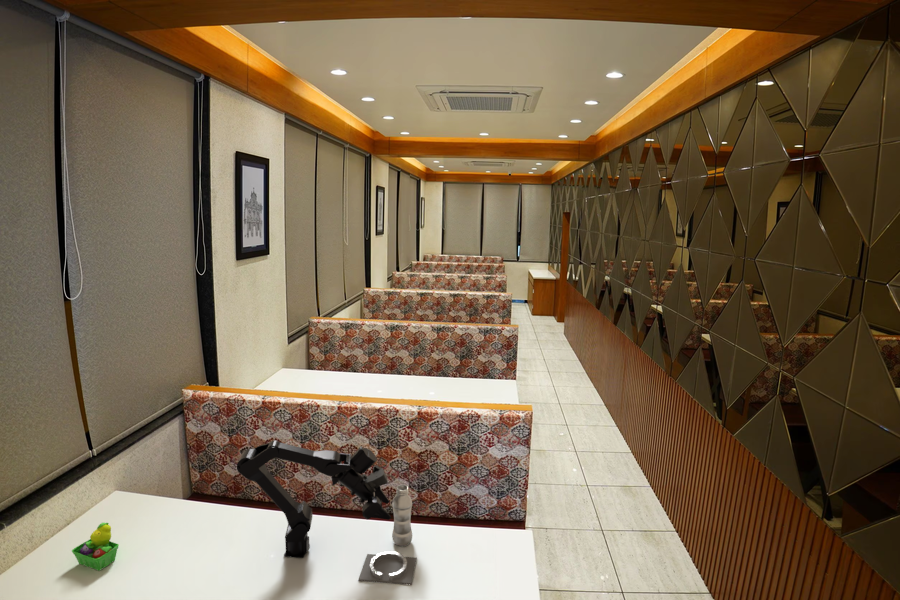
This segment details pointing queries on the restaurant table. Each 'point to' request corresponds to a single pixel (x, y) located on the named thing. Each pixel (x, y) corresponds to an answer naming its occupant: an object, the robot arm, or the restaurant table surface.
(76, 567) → the restaurant table surface
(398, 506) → the plastic bottle
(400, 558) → the split ring
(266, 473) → the robot arm
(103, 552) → the fruit basket
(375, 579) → the ring mat
